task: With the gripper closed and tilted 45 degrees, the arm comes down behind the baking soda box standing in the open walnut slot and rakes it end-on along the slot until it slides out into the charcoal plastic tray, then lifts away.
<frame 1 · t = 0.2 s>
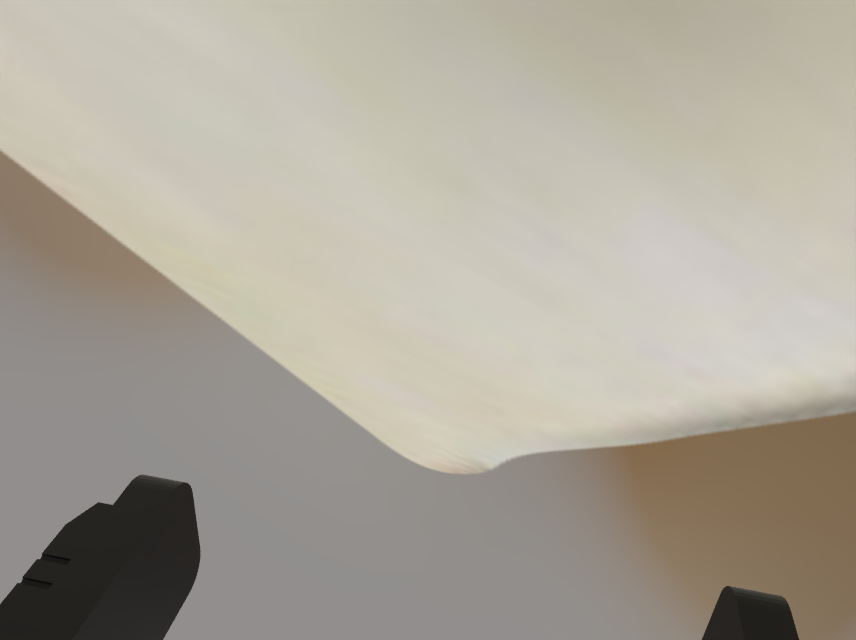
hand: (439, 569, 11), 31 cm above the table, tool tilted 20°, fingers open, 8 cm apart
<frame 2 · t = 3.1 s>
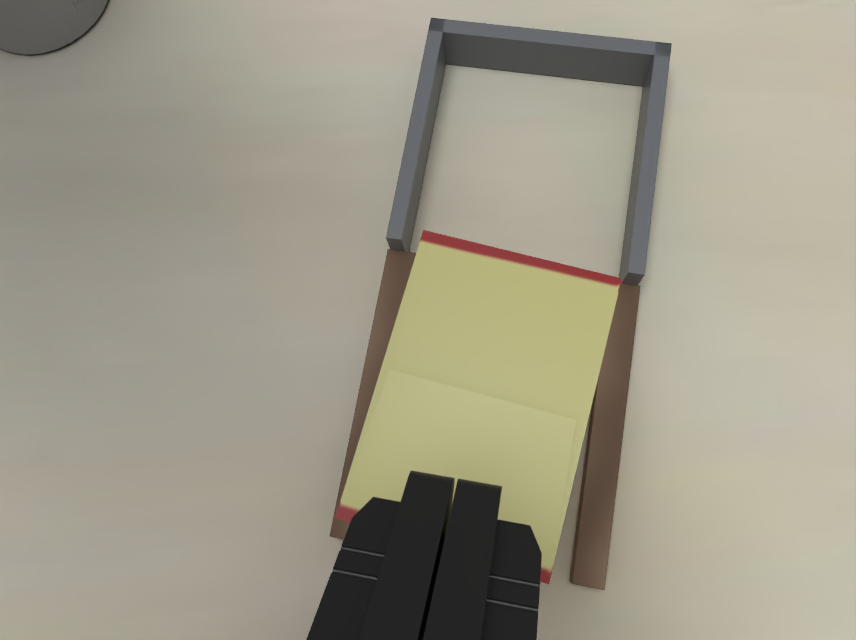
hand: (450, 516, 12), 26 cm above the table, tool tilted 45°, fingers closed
tray: (528, 164, 41), on the table
slot rails: (488, 410, 38), on the table
baking soda box: (484, 440, 38), on the table
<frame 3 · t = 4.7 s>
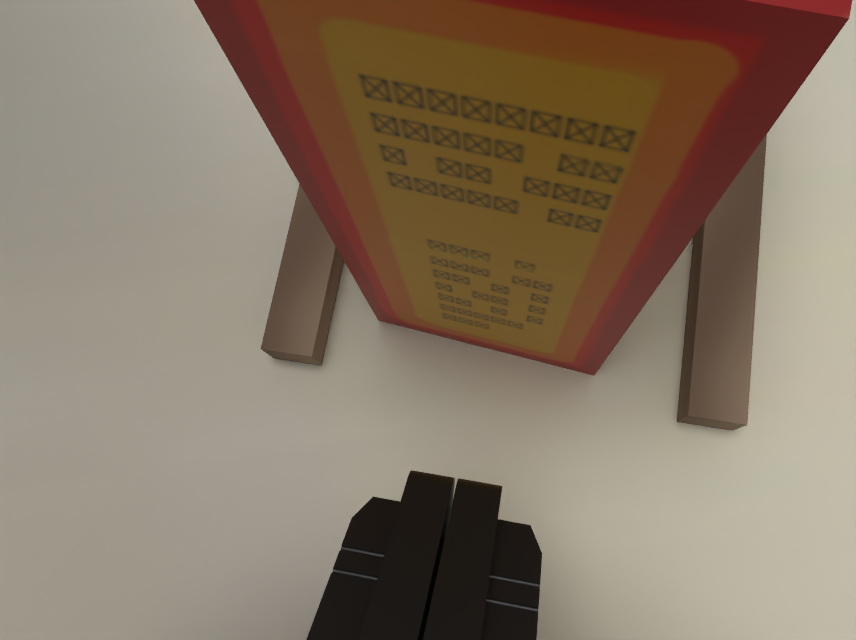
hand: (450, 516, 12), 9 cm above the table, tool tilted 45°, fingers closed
slot rails: (529, 157, 23), on the table
baking soda box: (522, 204, 23), on the table
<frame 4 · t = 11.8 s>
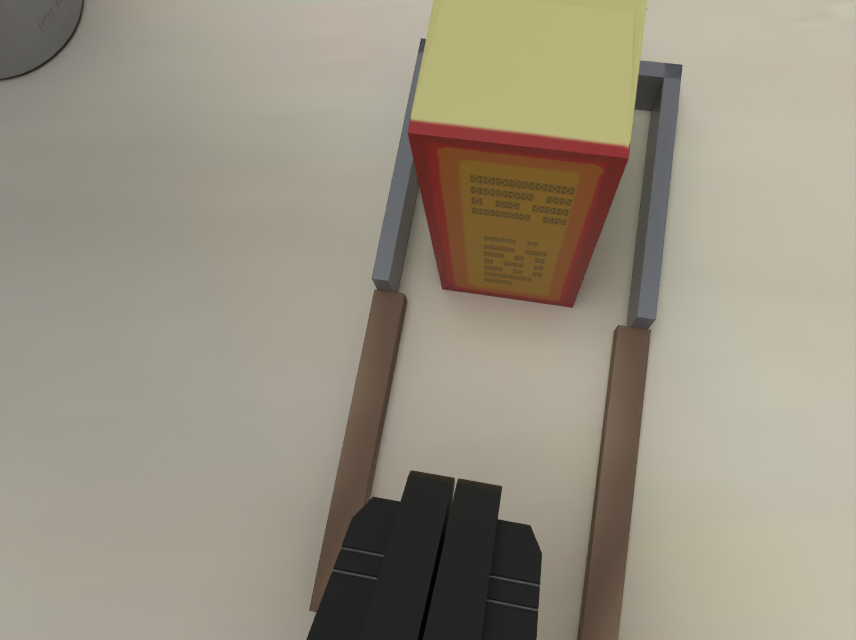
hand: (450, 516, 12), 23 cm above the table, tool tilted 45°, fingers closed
tray: (527, 195, 38), on the table
slot rails: (485, 467, 35), on the table
baking soda box: (520, 212, 38), on the table
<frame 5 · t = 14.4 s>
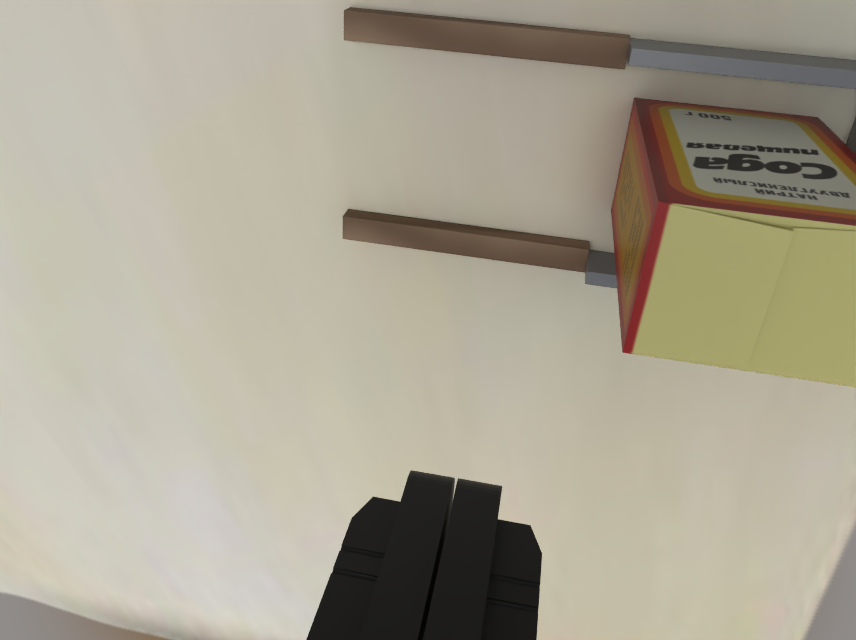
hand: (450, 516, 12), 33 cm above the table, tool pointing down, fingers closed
tray: (723, 172, 41), on the table
slot rails: (474, 143, 43), on the table
baking soda box: (708, 165, 41), on the table
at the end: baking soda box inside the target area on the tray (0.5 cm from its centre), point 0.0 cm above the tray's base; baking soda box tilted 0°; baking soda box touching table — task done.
